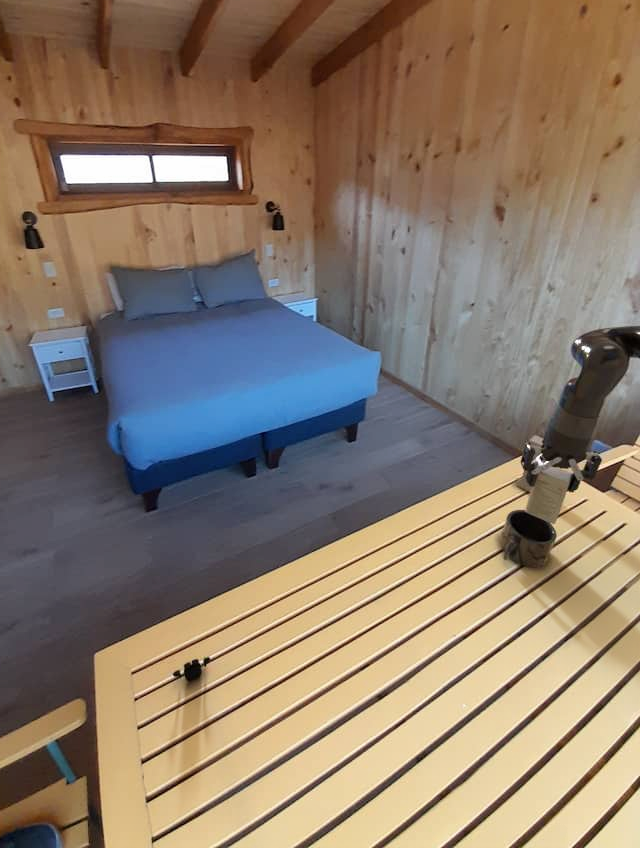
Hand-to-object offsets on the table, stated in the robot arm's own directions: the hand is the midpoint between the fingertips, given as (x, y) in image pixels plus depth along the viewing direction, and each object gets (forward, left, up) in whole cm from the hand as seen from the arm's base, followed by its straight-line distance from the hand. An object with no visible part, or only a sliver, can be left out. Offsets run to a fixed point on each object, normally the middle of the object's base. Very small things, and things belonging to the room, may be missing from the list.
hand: (549, 486), depth 90 cm
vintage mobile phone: (-6, -25, -21) cm, 33 cm away
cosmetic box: (0, 0, -8) cm, 8 cm away
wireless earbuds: (+69, +45, -21) cm, 85 cm away
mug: (+2, +1, -21) cm, 21 cm away
